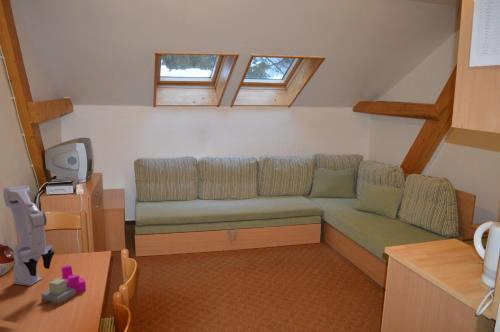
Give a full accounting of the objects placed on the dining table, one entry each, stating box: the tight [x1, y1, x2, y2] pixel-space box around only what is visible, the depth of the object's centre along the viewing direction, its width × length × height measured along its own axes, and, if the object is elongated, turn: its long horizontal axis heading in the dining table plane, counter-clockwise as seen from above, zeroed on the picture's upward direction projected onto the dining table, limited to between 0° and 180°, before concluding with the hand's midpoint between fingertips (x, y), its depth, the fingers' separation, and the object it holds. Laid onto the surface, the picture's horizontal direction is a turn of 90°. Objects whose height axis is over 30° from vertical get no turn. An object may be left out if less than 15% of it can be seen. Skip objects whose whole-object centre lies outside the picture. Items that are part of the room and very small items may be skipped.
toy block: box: [61, 264, 87, 294], centre depth 178 cm, size 15×6×8 cm, turn 37°
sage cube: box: [48, 277, 67, 294], centre depth 166 cm, size 4×4×4 cm
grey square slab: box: [41, 293, 76, 306], centre depth 167 cm, size 9×9×2 cm
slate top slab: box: [41, 287, 76, 303], centre depth 167 cm, size 9×9×2 cm
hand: (40, 271), depth 169 cm, fingers open, 7 cm apart
